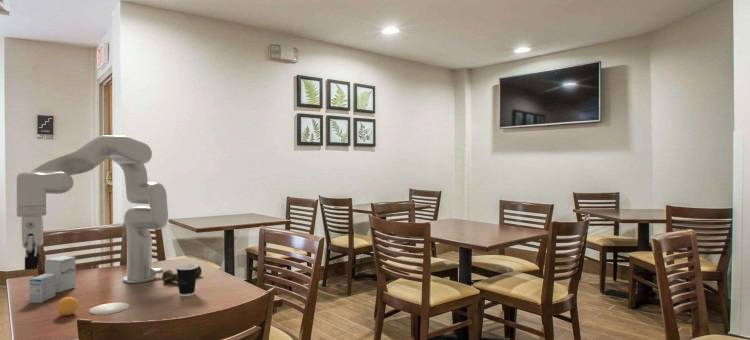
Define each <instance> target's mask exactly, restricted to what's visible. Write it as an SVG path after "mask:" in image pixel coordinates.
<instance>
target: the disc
mask: <svg viewBox="0 0 750 340" xmlns="http://www.w3.org/2000/svg"><path fill="white" fill-rule="evenodd" d="M129 308H130V304H128V303H126V302H109V303H103V304H99V305H96V306H94V307H91V308H90V309H89V311H88V312H89V314H92V315H98V316H99V315H104V316H105V315H111V314H116V313H120V312H123V311H125V310H127V309H129Z"/></svg>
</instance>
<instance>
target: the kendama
mask: <svg viewBox="0 0 750 340" xmlns="http://www.w3.org/2000/svg"><path fill="white" fill-rule="evenodd" d="M198 275H200V276H201V275H202V268H201V266H199V265H198V267H197V275H196V277H199V276H198ZM161 279H162V283H165V284H168V282H169V283H171V282H177V283H178V276H177V272H174V271H173V270H170V269H166V270H164V273H162V276H161Z"/></svg>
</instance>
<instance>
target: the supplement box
mask: <svg viewBox="0 0 750 340" xmlns="http://www.w3.org/2000/svg"><path fill="white" fill-rule="evenodd" d="M44 274H55V275H56V279H55V293H61V292H64V291H67V290H71V289H74V288H76V256H67V255H60V256H55V257H51V258H47V259H44Z"/></svg>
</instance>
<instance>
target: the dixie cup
mask: <svg viewBox="0 0 750 340" xmlns="http://www.w3.org/2000/svg"><path fill="white" fill-rule="evenodd" d="M198 266H199V265H198V264H194V263H193V264H192V263H191V264H180V265H177V266H176V267H175V269H176V273H177V276H178V282H177V284H178V292H179V296H180V297H182V296H188V297H191V295H192V296H194V294H195V291H196V290H195V289H196V282H197V281H196V280H197V276H196V275H197V267H198Z"/></svg>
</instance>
